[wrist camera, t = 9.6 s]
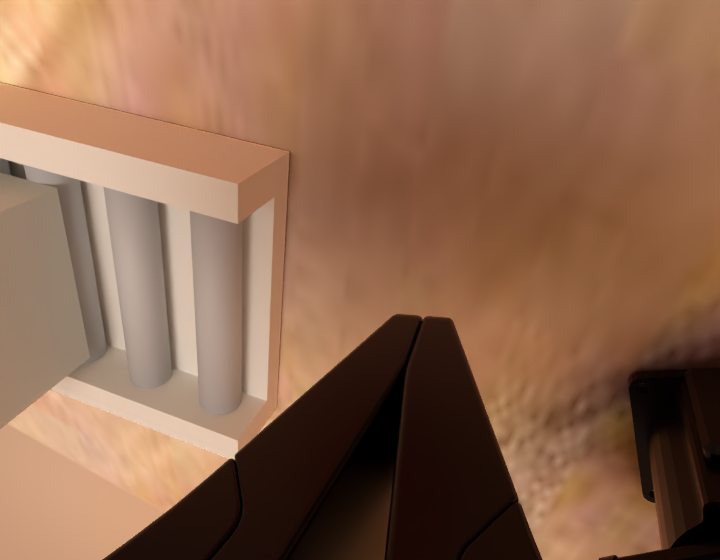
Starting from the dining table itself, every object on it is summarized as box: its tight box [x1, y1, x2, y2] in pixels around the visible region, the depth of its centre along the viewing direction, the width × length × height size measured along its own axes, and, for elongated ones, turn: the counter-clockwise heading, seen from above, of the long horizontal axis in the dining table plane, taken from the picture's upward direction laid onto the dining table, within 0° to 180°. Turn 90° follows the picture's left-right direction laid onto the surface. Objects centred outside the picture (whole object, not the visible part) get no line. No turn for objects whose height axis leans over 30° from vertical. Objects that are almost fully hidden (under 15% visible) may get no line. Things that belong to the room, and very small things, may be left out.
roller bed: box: [0, 83, 290, 460], centre depth 26 cm, size 22×14×4 cm, turn 83°
